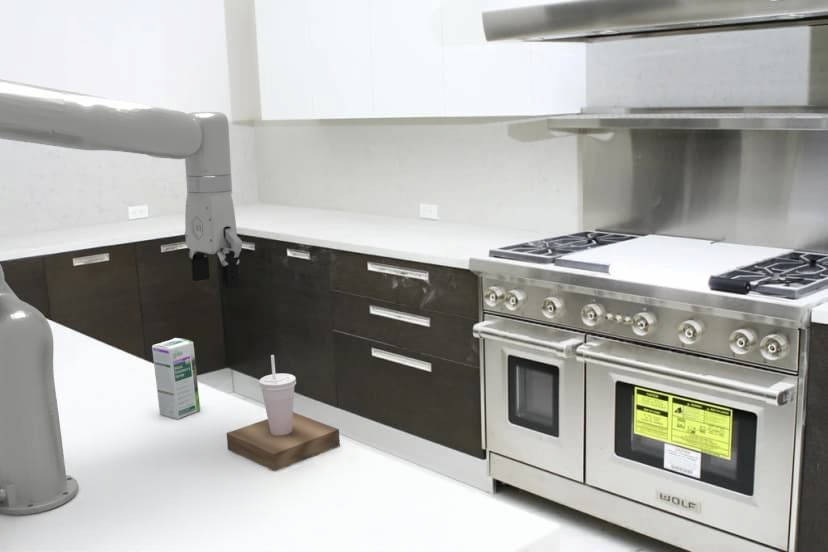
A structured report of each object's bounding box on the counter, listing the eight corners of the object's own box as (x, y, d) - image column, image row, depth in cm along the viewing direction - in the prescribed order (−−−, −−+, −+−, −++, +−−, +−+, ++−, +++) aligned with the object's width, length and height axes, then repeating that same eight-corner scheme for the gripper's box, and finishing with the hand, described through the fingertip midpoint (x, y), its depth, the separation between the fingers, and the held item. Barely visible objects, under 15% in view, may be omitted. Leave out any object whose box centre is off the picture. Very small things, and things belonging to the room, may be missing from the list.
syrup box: (177, 420, 172) (170, 348, 169) (158, 414, 176) (151, 343, 173) (200, 411, 177) (194, 340, 174) (181, 405, 180) (175, 336, 177)
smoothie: (258, 429, 158) (252, 353, 155) (292, 422, 161) (287, 347, 158) (269, 441, 152) (263, 362, 149) (304, 433, 155) (299, 356, 152)
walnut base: (275, 470, 148) (274, 453, 147) (227, 449, 157) (226, 433, 157) (339, 445, 157) (338, 429, 157) (291, 426, 167) (290, 411, 166)
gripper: (165, 184, 156) (171, 280, 159) (216, 190, 143) (222, 294, 147) (203, 181, 161) (209, 274, 164) (255, 186, 148) (260, 287, 152)
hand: (215, 283), depth 155 cm, fingers open, 9 cm apart
